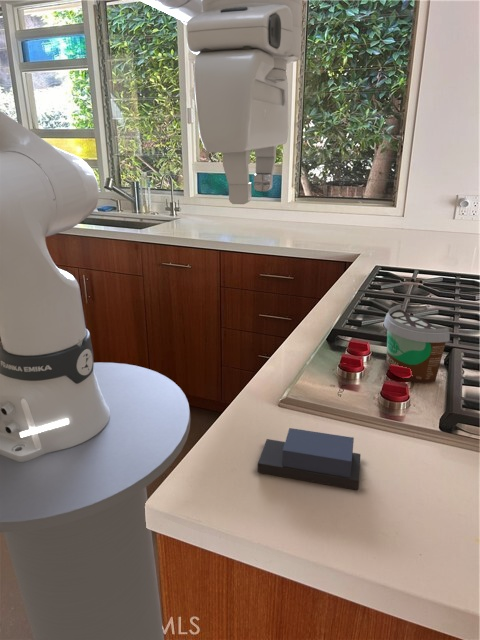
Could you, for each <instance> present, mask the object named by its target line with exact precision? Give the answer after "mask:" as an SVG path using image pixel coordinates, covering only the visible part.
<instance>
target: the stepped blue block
mask: <svg viewBox="0 0 480 640" xmlns="http://www.w3.org/2000/svg"><path fill="white" fill-rule="evenodd" d="M354 439H355V437H354V436H353V437H351V436H347V435H340V434H332V433H325V432H321V431H320V432H319V431H312V430H305V429H300V428H299V429H297V428H293V427H289V428H288V431H287V435H286V437H285V441H280V440H276V439H270V438H269V439H268V438H267V439H265V442H264V445H263V448H262V451H261V454H260V456H259V459H258V462H257V472H258V473H260V474H265V475H271V476H276V477H283V478H288V479H294V480H300V481H305V482H310V483H311V482H312V483H316V484H321V485H327V486H334V487H338V488H344V489H349V490H355V491H358V490H359V484H360V471H361V453H357V452H353V451H354Z"/></svg>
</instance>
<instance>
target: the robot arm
mask: <svg viewBox="0 0 480 640" xmlns="http://www.w3.org/2000/svg"><path fill="white" fill-rule="evenodd" d="M139 1H140V2H142V3H144V4H146V5H149V6H151V7H153V8H155V9H157V10H159V11H161V12H164V13H166V14H167V15H169V16H172V17H174V18H175V19H176V20H178V21H179V22H181V23H183V24H184V25H186V26H185V28H186V30H185V31H186V44H187V45H186V46H187V49H188V51H190V52H191V53H193V54H195V57H194V61H193V83H194V96H195V108H196V116H197V127H198V133H199V137H200V140H201V142H202V145H203V148H204V150H205V152H206V153H213V154H214V153H215V154H217V153H221V154H222V167H223V171H224V174H225V177H226V181H227V185H228V201H229V203H230V204H232V205H246V204H247V203H249V202H251V200H252V182H250V171H249V165H250V163H251V151H254V158H255V173H254V174H253V189H254V190H255V191H256V192H268V191H270V190H272V188H273V182H274V181H273V180H274V179H273V178H274V177H273V176H274V170H275V165H276V160H277V146H282V145H285V144H287V141H288V136H289V86H288V84H289V83H288V75H287V66H288V64H291V63H295V62H298V61H300V59H301V54H302V23H303V0H139ZM99 198H100V189H99V184H98V180H97V177H96V175H95V173H94V170H93V169H92V168H91V167H90V165H89V164H88V163H87V162H86V161H85V160H84V159H82V158H81V157H79V156H77V155H75V154H72V153H70V152H67V151H65V150H63V149H61V148H58V147H56V146H54V145H53V144H52V143H50V142H48V141H46V140H45V139H43V138H42V137H40V136H39V135H37V134H36V133H34V132H33V131H31V130H29V129H28V128H27V127H26V126H24V125H23V124H21V123H20V122H18V121H17V120H15V119H14V118H13V117H11V116H9V115H8V114H6V113H5V112H4V111H2V110H0V454H1V455H3V456H5V457H8V458H10V459H13V460H15V461H18V462H26V461H29V460H32V459H34V458H36V457H39V456H41V455H43V454H46V453H49V452H54V451H59V450H63V449H67V448H70V447H73V446H76V445H78V444H81V443H83V442H85V441H87V440H89V439H91V438H92V437H94V436H95V435H96V434H98V433H99V432H100V431H101V430H102V429H103V428H104V427H105V426H106V425H107V423H108V421H109V419H110V409H109V407H108V405H107V404H106V402H105V400H104V397H103V395H102V393H101V390H100V387H99V384H98V381H97V378H96V375H95V372H94V363H95V362H94V349H93V344H92V338H91V333H90V330H88V328H86V326H87V325H86V319H85V314H84V307H83V301H82V295H81V288H80V284H79V282H78V280H77V278H75V277H74V275H73V274H71V273H69V272H68V271H66V270H64V269H61V268H58V266H57V265H56V263H55V262H54V260H53V258H52V257H51V254H50V252H49V250H48V247H47V242H46V241H47V240H46V238H47V237H51V236H53V235H57V234H59V233H63V232H66V231H69V230H72V229H73V228H75V227H76V226H77V225H79V224H80V223H82V222H83V221H85V220H86V219H87V218H88V217H89V216H90V215H92V214H93V213H94V211H95V210H96V208H97V205H98V204H99Z"/></svg>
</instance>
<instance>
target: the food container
mask: <svg viewBox="0 0 480 640" xmlns="http://www.w3.org/2000/svg"><path fill="white" fill-rule="evenodd" d="M383 327H384V328H385V329H386V331H387V332H386V334H387V335H386V369H387V371H388V370H389V365H391V364H395V365H399V366H403V367H407V368H410V369H411V371H412V375H413V377H412V376H411V377H410V378H404V379H403V378H402V379H401V378H399V379H400V380H403V381H407V382H412V383H417V384H419V383H421V384H428V383H434V382H436V380H437V377H438V373H439V369H440V365H441V361H442V358H443V354H444V351H445V348H446V343H447V342H448V343H449V342H450V341H451V338H450V337H451V336H450V335H451V332H449V331H450V328H449V327H445V328H438V327H436V326H434V325H432V324H431V323H430V322H429V321H427V320H426V319H424V318H423V317H419V316H416V315H412V314H410V313H408V312H406V311H404V310H402V304H398V305H397V304H396V305H395V306H392V307H391V308H389V310H388V312H387V313H386V315H385V318H384V321H383Z"/></svg>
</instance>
